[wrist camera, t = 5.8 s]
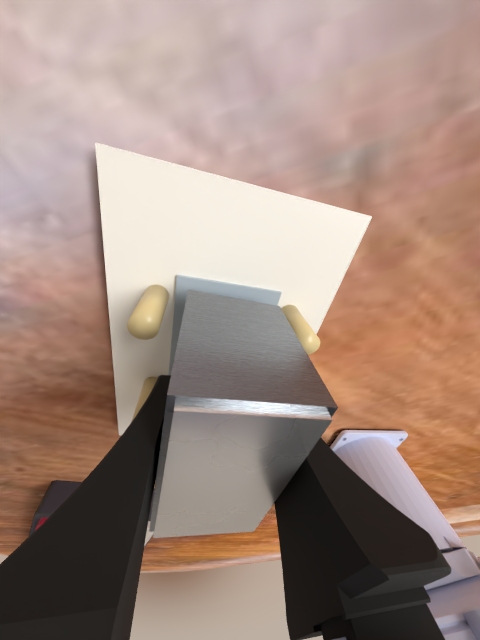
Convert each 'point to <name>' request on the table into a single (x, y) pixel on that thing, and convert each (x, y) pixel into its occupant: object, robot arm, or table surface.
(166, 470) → the block
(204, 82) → the table surface
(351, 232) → the cream pegged board
